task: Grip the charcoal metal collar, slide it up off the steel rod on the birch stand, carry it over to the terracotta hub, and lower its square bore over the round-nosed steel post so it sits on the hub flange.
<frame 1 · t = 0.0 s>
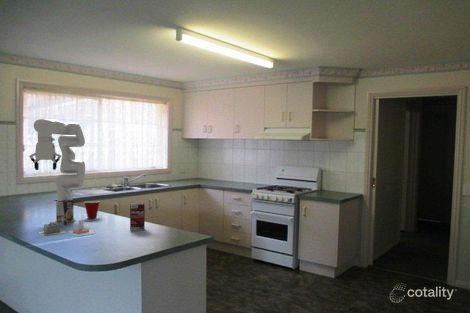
hand: (45, 169, 216), 37 cm above the counter, tool pointing down, fingers open, 9 cm apart
plastic cup: (92, 218, 261), on the counter
hub: (81, 233, 215), on the counter
collar: (52, 232, 214), point 1 cm above the counter, touching rod stand
rod stand: (52, 234, 214), on the counter
coffee box: (65, 225, 237), on the counter
supplement box: (137, 230, 225), on the counter
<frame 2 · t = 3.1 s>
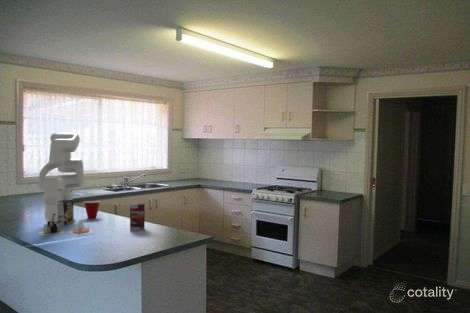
hand: (52, 231, 214), 2 cm above the counter, tool pointing down, fingers closed on collar, 7 cm apart
collar: (52, 232, 214), point 1 cm above the counter, touching gripper, rod stand
everything else where it was.
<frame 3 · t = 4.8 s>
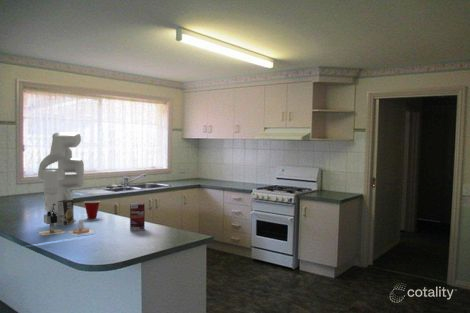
hand: (52, 221, 214), 7 cm above the counter, tool pointing down, fingers closed on collar, 7 cm apart
collar: (52, 222, 214), point 7 cm above the counter, touching gripper
everything else where it was.
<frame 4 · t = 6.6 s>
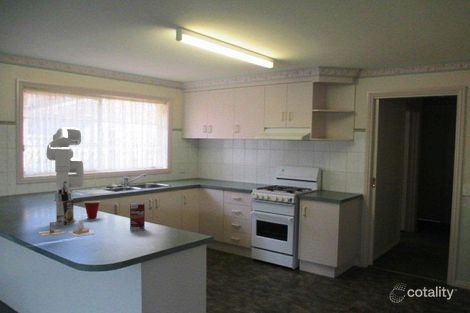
hand: (63, 199, 214), 20 cm above the counter, tool pointing down, fingers closed on collar, 7 cm apart
collar: (63, 200, 214), point 19 cm above the counter, touching gripper
everything else where it was.
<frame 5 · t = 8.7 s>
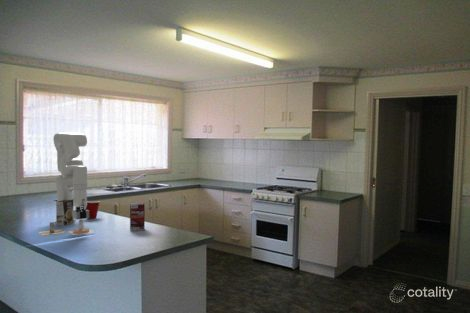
hand: (80, 217, 215), 10 cm above the counter, tool pointing down, fingers closed on collar, 7 cm apart
collar: (80, 218, 215), point 9 cm above the counter, touching gripper
everything else where it was.
when the fingers open (4 cm above the counter, at t = 10.4 s): collar drops 1 cm, resting on hub.
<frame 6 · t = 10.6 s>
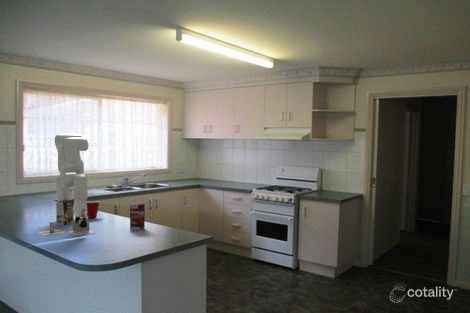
hand: (81, 226, 215), 4 cm above the counter, tool pointing down, fingers open, 9 cm apart
collar: (81, 229, 215), point 2 cm above the counter, touching hub
everything else where it was.
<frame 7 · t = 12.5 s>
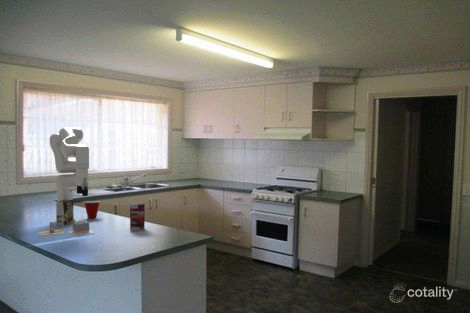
hand: (82, 194, 222), 22 cm above the counter, tool pointing down, fingers open, 9 cm apart
nothing on the counter moved.
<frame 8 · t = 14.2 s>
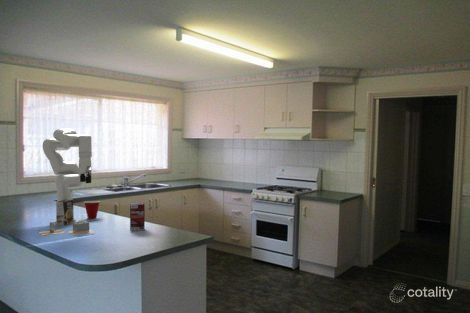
hand: (85, 182, 230), 28 cm above the counter, tool pointing down, fingers open, 9 cm apart
nothing on the counter moved.
at the end: collar 0.1 cm off-centre on the hub, point 2.2 cm above the hub's base; collar tilted 0°; the gripper is holding nothing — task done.
